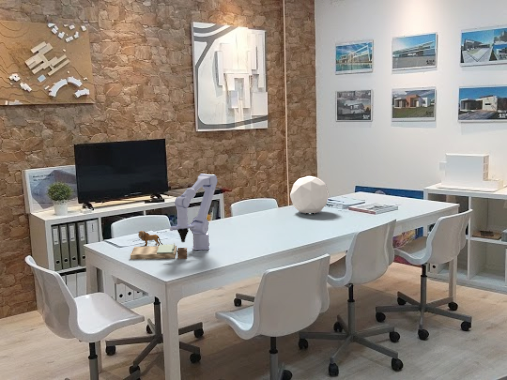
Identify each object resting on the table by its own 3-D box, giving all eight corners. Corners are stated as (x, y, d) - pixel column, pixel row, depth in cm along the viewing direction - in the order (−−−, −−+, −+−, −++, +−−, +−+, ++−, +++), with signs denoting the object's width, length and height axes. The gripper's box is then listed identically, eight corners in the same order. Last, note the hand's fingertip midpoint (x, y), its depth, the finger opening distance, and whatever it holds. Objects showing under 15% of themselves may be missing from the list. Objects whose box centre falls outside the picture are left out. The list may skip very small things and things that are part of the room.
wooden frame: (176, 250, 324) (176, 245, 323) (175, 258, 307) (174, 253, 307) (134, 251, 322) (134, 246, 322) (130, 259, 305) (130, 254, 305)
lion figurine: (137, 246, 332) (137, 231, 331) (139, 244, 338) (139, 229, 336) (162, 246, 332) (162, 231, 331) (164, 244, 338) (163, 229, 336)
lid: (175, 245, 323) (175, 242, 323) (173, 252, 307) (173, 249, 307) (159, 245, 322) (159, 242, 322) (156, 253, 306) (156, 250, 306)
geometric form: (315, 228, 423) (317, 201, 401) (282, 210, 435) (283, 183, 414) (334, 205, 439) (338, 178, 417) (302, 189, 451) (304, 162, 429)
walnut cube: (187, 256, 311) (187, 247, 310) (186, 258, 306) (186, 249, 305) (178, 256, 311) (177, 247, 310) (177, 259, 306) (177, 250, 305)
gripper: (192, 215, 319) (192, 238, 321) (167, 218, 313) (168, 241, 315) (196, 217, 313) (197, 241, 315) (171, 220, 306) (172, 244, 309)
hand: (183, 241), depth 314 cm, fingers closed
